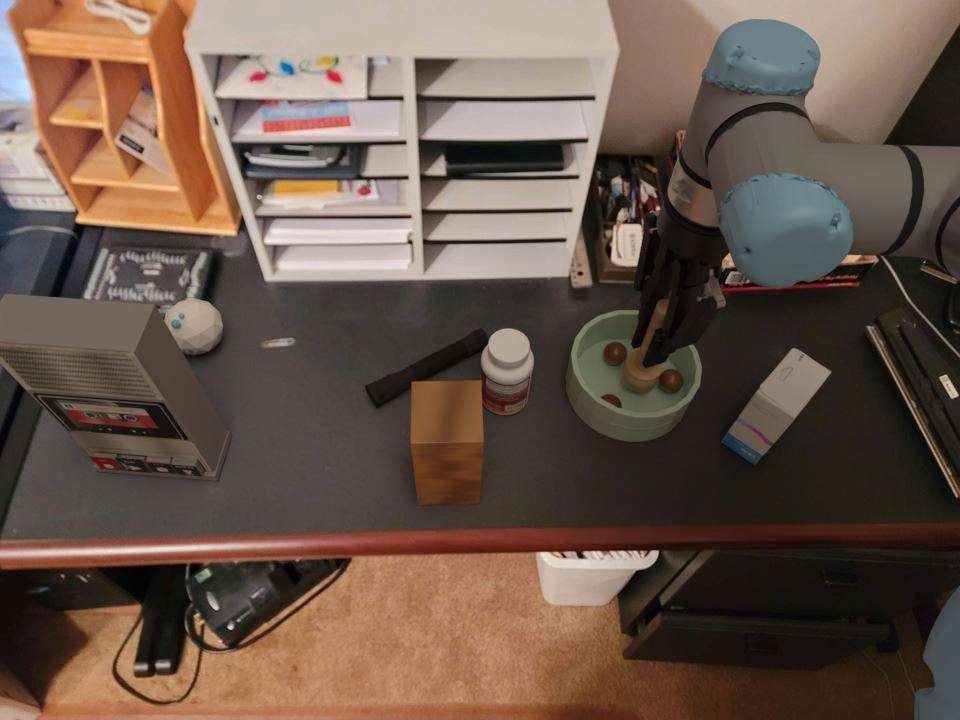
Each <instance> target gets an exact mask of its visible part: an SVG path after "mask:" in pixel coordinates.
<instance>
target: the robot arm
mask: <svg viewBox="0 0 960 720" xmlns="http://www.w3.org/2000/svg"><path fill="white" fill-rule="evenodd" d="M710 53H711V54H710V56H709V59H708V61H707V63H706V66H705V67H704V69H703V70H702V71H701V82H700V84H699V88H698V91H697V94H696V98H695V100H694V104H693V106H692V109H691V110H692V111H691V113H690V117H689V120H688V123H687V126H686V129H685V133H684V135H683V139H682V142H681V145H680V148H679V152H678V155H677V157H676V161H675V164H674V168H673V171H672V174H671V177H670V178H669V183H668V186H667V190H666V192H665V194H664V197H663V200H662V202H661V206H660V208H659V209H658V210H654V211H650V212H646V213H644V214H643V215H642V229H643V232H642V233H643V234H642V240H641V244H640V249H639V256H638V260H637V265H636V270H635V274H634V280H633V288H634V290H635V291H636V292H640V294H641V296H640V298H639V303H640V308H639V310H638V311H639V313H638V320H639V322H638V325H637V328H636V330H635V333H634V336H633V339H632V342H631V346H632V347H633V349H636V348H639V347H641V344H642V342H643V339H644V336H645V334H646V331H647V328H648V326H649V323H650V320H651V318H652V315H653V312H654V310H655V307H656V304H657V302H658V301H660V300H662V299H669V304H668V308H667V311H666V315H665V319H664V322H663V326H662V328H659V329H656V330H655V332H654V334H653V337H652V340H651V342H650V345H649V347H648V350H647V352H646V355H645V358H644V360H643V363H642V364H643V366H644V367H645V368H649V367H652V366H655V365H658V364H661V363H665V362H666V361H667V359H668V356H669V354H672V353H674V352H675V350H677V349H680V348H683V347H686V346H689V345H696V344H698V342H699V341H700V339H701V338H702V337H703V335H704V333H705V332H707V329H708V328H709V327H710V326H711V324H712V323H713V321H714V320H715V318H717V316H718V314H719V313H720V312H721V310H722V309H725V308H727V307H729V306H732V305H733V302H734V298H733V295H732V294H731V292H723V291H722V289H721V286H720V283H719V278H720V277H721V275H722V271H723V270H722V268H723V266H722V265H723V261H724V259H726V257H727V256H728V255H730V257H731V261H732V263H733V266H734V267H735V269H736V270H737V272H738V273H739V274H740V275H741V276H742V278H744V279H745V280H747V281H749V282H751V283H753V284H755V285H758V286H761V287H765V288H772V289H786V288H791V287H793V286H794V285H795V284H797V283H800V282H803V281H804V282H806V283H811V282H814V281H817V280H819V279H821V278H823V277H825V276H826V275H828V274H829V273H831V272H833V271H834V270H835V269H836V268H837V267H839V266H840V264H841V263H843V261H845V259H846V258H847V256H867V257H869V256H871V257H875V256H877V257H898V258H899V257H900V258H901V257H903V258H920V259H925V260H928V261H930V262H932V263H933V264H935V265H936V266H937V267H939V268H940V269H941V270H942V271H944V272H946V273H948V274H950V275H951V276H952V277H954V279H956V280H957V281H959V282H960V146H950V145H949V146H945V145H943V146H942V145H908V144H907V145H906V144H905V145H902V144H877V143H875V144H874V143H853V142H852V143H849V142H825V141H824V142H823V141H820V138H819V137H818V136H817V134H816V130H815V128H814V126H813V124H812V123H813V122H812V120H811V118H810V115H809V113H808V111H807V109H806V106H805V105H806V97H808V94H809V93H810V91H811V90H813V88H814V86H815V79H816V76H817V73H818V70H819V67H820V64H821V59H822V55H821V50H820V48H819V46H818V43H817V42H816V40H815V39H814V38H813V37H812V36H811V35H810V34H809V33H807V32H806V31H805V30H803V29H801V28H799V26H796V25H794V24H791V23H788V22H785V21H781V20H777V19H770V18H768V19H765V18H764V19H763V18H750V19H749V18H748V19H744V20H740V21H738V22H735V23H733V24H731V25H729V26H728V27H726V28H725V29H724V30H723V31H722V32H721V33H720V35H718V37H717V39H716V41H715V44H714V46H713V49H712V51H711V52H710ZM647 276H648V277H647ZM702 290H703V291H702ZM701 291H702V292H701ZM670 292H671V293H670ZM700 292H701V295H700ZM669 294H670V295H669ZM922 659H923V662H924V663H925V664H926V665H927V666H928V668H929V669H930V671H931V673H932V676H933V677H932V678H933V681H934V686H930V687H923V688H920V689H918V690H916V691H915V692H914V693H915V694H914V714H913V715H914V718H913V719H914V720H960V585H959V586H958V587H957V588H956V589H955V591H953V593H952V595H951V596H950V597H949V598H948V599H947V601H946V603H945V605H943V607H942V609H941V610H940V613H939V614H938V616H937V618H936V620H935V622H934V623H933V626H932V628H931V630H930V633H929V635H928V638H927V641H926V642H925V647H924V650H923V654H922Z"/></svg>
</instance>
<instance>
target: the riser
mask: <svg viewBox="0 0 960 720" xmlns="http://www.w3.org/2000/svg"><path fill="white" fill-rule="evenodd" d="M410 387H411V388H410V389H411V392H410V393H411V394H410V441H409V442H410V452H411V459H412V469H413V476H414V477H413V478H414V485H415V491H416V492H415V493H416V502H417V506H440V505H441V506H442V505H443V506H444V505H447V506H448V505H478V504H481V495H482V482H483V481H482V480H483V464H484V451H485V449H484V448H485V431H484V409H483V408H484V407H483V403H482V386H481V380H480V379H479V380H477V379H476V380H475V379H474V380H472V379H471V380H432V381H431V380H425V381H424V380H421V381H417V382H412V384H411V386H410Z"/></svg>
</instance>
